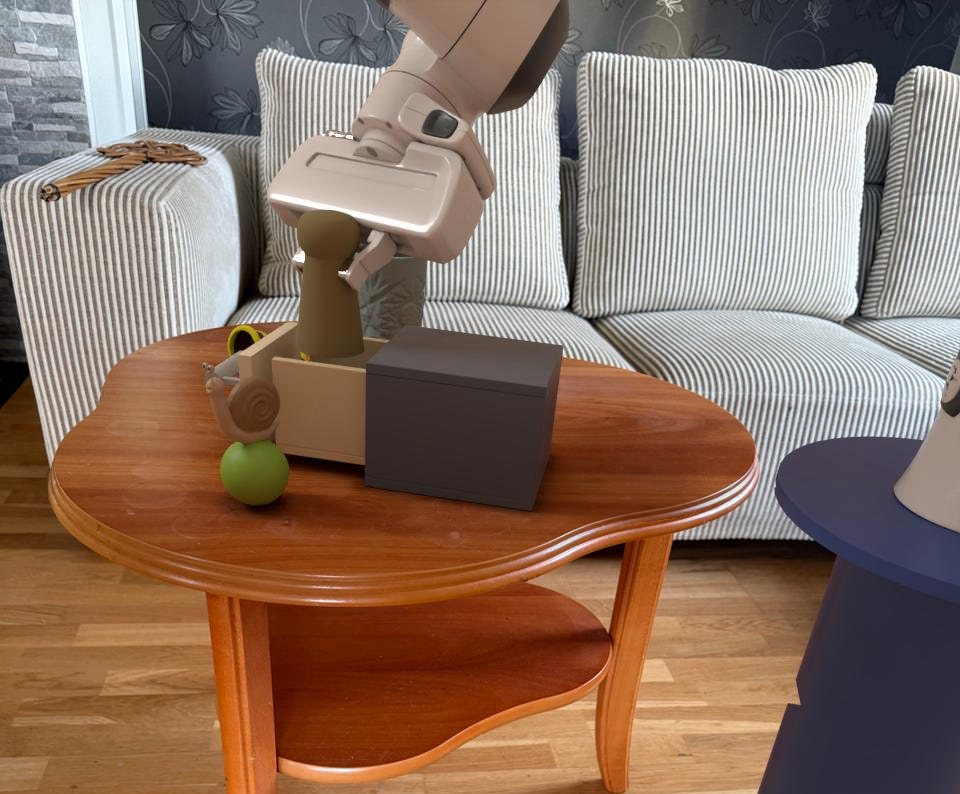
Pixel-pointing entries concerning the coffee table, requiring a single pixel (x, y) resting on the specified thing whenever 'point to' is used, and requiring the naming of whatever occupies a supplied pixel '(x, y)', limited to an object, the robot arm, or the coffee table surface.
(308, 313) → the cork
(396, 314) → the grey embossed cup
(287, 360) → the drawer
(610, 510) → the coffee table surface
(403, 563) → the coffee table surface
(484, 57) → the robot arm
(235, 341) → the opera glasses
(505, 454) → the cabinet
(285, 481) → the snail figurine
